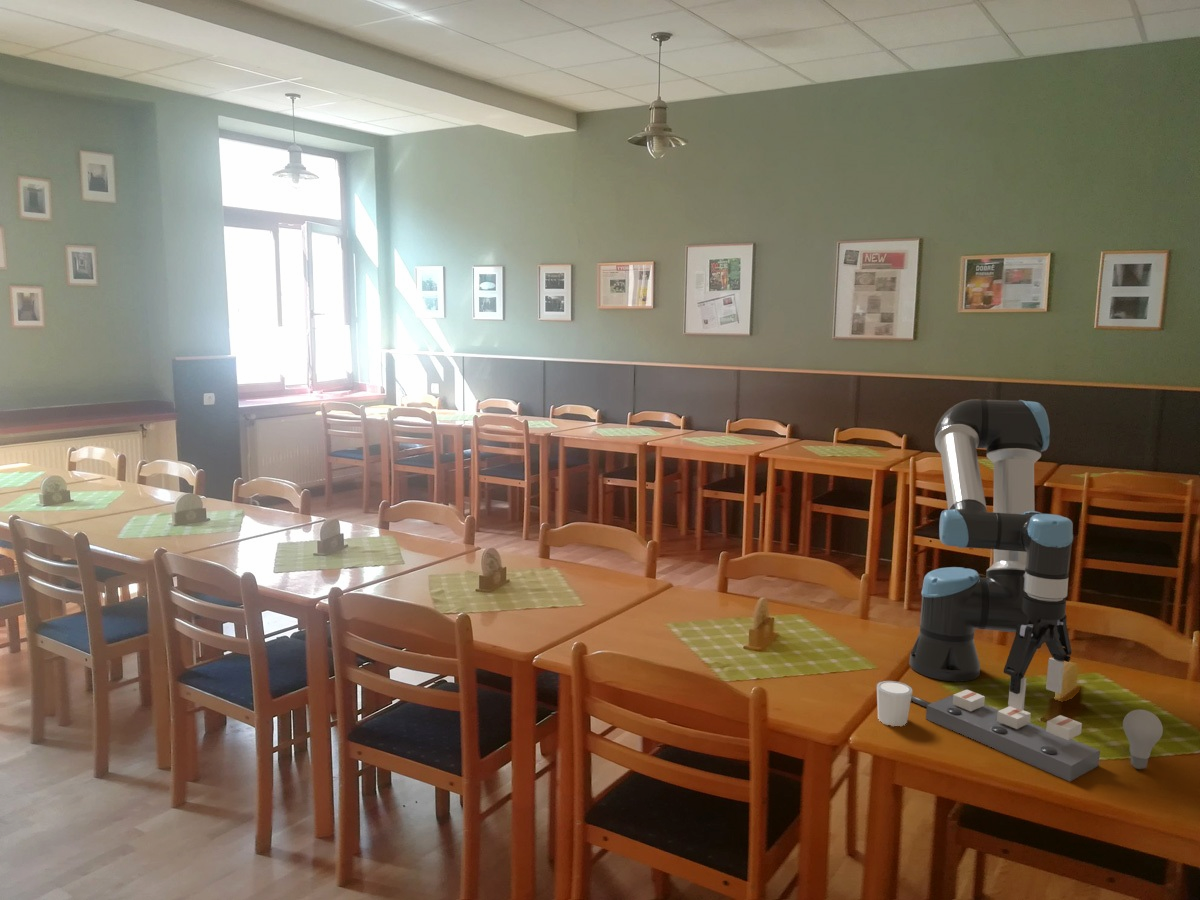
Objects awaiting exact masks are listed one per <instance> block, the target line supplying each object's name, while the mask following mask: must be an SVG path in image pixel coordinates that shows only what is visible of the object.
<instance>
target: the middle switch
mask: <svg viewBox="0 0 1200 900" xmlns="http://www.w3.org/2000/svg"><path fill="white" fill-rule="evenodd" d="M998 710H999V711H998V714H997V721H998V722H1000V723H1003V724H1005V725H1008V726H1010V727H1013V728H1015V729H1018V728H1020V727H1022V726H1025V725H1027V724H1029V723H1031V715H1032V713H1031V712H1029V711H1026V710H1022V711H1021V710H1018V709H1016V708H1013V707H1010V706H1007V707H1004V708H1002V709H998Z"/></svg>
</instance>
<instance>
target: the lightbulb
mask: <svg viewBox="0 0 1200 900" xmlns="http://www.w3.org/2000/svg"><path fill="white" fill-rule="evenodd" d="M1122 727H1123V731H1124V734H1125V736H1126V738H1127V740H1128V746H1129V753H1130V764H1131V766H1133V767H1134V769H1137V770H1142V769H1143V770H1144V769H1146V768H1147V766H1148V761H1149V758H1150V757H1151V753H1152V750H1153V748H1154V746H1155V745H1156V744H1157V743H1158V742H1159V741H1160V740H1161V738H1162V736H1163V731H1164V727H1163V724H1162V721H1161V720H1160V719H1159V717H1158V716H1157V715H1156V714H1154V712H1153V713H1152V712H1151V711H1149V710H1147V709H1134V710H1132V711H1129V712H1128V713H1127V714H1126V715H1125V716H1124V718H1123V721H1122Z"/></svg>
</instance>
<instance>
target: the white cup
mask: <svg viewBox="0 0 1200 900" xmlns="http://www.w3.org/2000/svg"><path fill="white" fill-rule="evenodd" d="M912 695H913V688H912V687H911V686H909V685H908V684H906V683H904V682H900V681H895V680H894V681H893V680H883V681H879V682H878V683H876V704H877V705H876V707H877V720H878V719H879V720H878V721H879V722H880V721H881V722H882V723H881V722H880V723H881V724H883V725H886V726H888V725H891V726H890V727H894V726H900V727H903V725H904V726H906V725H907V724H908V719H909V713H910V712H909V711H910V707H911V702H912V701H911V696H912ZM906 723H907V724H906ZM905 724H906V725H905Z"/></svg>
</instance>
